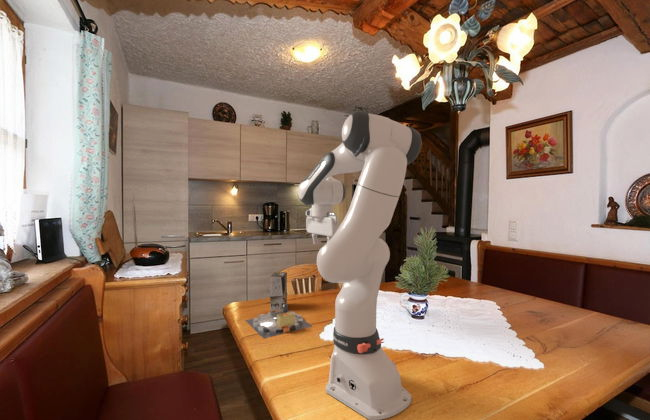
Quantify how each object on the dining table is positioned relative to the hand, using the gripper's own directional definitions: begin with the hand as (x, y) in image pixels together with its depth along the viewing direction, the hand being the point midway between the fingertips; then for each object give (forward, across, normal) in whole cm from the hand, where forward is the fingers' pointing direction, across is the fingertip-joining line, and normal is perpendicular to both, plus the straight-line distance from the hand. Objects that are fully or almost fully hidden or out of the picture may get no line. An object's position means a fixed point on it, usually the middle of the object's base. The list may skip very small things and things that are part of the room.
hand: (322, 245), depth 125 cm
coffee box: (+31, +21, +10) cm, 39 cm away
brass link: (+28, -3, +18) cm, 34 cm away
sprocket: (+30, +4, +18) cm, 35 cm away
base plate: (+31, +4, +18) cm, 36 cm away
